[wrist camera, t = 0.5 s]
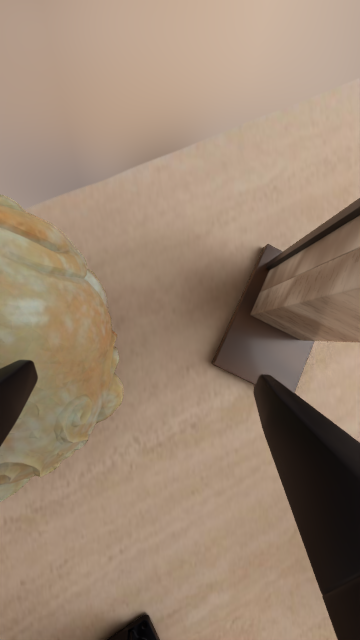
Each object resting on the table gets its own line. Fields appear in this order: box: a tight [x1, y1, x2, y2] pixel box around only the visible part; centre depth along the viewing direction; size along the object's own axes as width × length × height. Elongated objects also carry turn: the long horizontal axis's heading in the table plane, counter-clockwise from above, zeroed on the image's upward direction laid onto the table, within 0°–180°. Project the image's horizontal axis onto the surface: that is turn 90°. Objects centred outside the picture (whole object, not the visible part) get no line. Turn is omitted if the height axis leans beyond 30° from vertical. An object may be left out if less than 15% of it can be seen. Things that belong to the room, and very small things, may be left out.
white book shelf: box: [212, 198, 360, 392], centre depth 17 cm, size 16×10×15 cm, turn 154°
